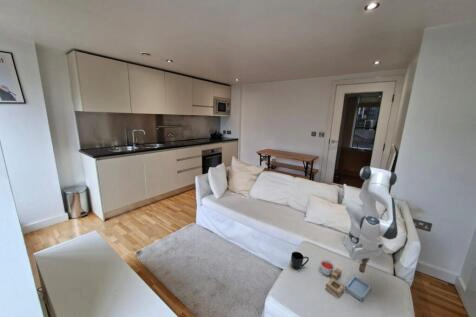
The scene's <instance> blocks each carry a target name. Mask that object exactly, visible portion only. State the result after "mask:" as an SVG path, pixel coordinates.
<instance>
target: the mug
mask: <svg viewBox="0 0 476 317" xmlns="http://www.w3.org/2000/svg"><path fill="white" fill-rule="evenodd" d="M290 256H291V257H290V261H291V262H290V263H291V265H292V266H291V267H292V268H293V269H294V270H296V271H297V270H300V269H301V268H302V267H304V266H305V265H306V264H307V263H308V262H309V257H308V256H304V255H303V254H302V253H301V252H300V251H292V253H291V255H290ZM304 259H306V261H305V262H304Z"/></svg>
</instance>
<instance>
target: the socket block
mask: <svg viewBox="0 0 476 317" xmlns="http://www.w3.org/2000/svg"><path fill="white" fill-rule="evenodd" d="M345 286H346V285H344V284H343V283H341V282H339V281H338V280H335V279H334V278H331V277H330V280H328V281H327V283H325V288H324V289H325V290H326V291H327V292H329V293H330V294H331V295H333V296H334V297H335V298H337V299H339V297H340V296H341V295H342V294H343V293H344V292H345Z"/></svg>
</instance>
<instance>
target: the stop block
mask: <svg viewBox="0 0 476 317" xmlns="http://www.w3.org/2000/svg"><path fill="white" fill-rule="evenodd" d="M341 275H342V269H340V268H338V267H336V268H334V270H333V272H332V274H331V275H330V279H331V278H334V279H335V280H337V281H338V280H339V279H340V278H341Z"/></svg>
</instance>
